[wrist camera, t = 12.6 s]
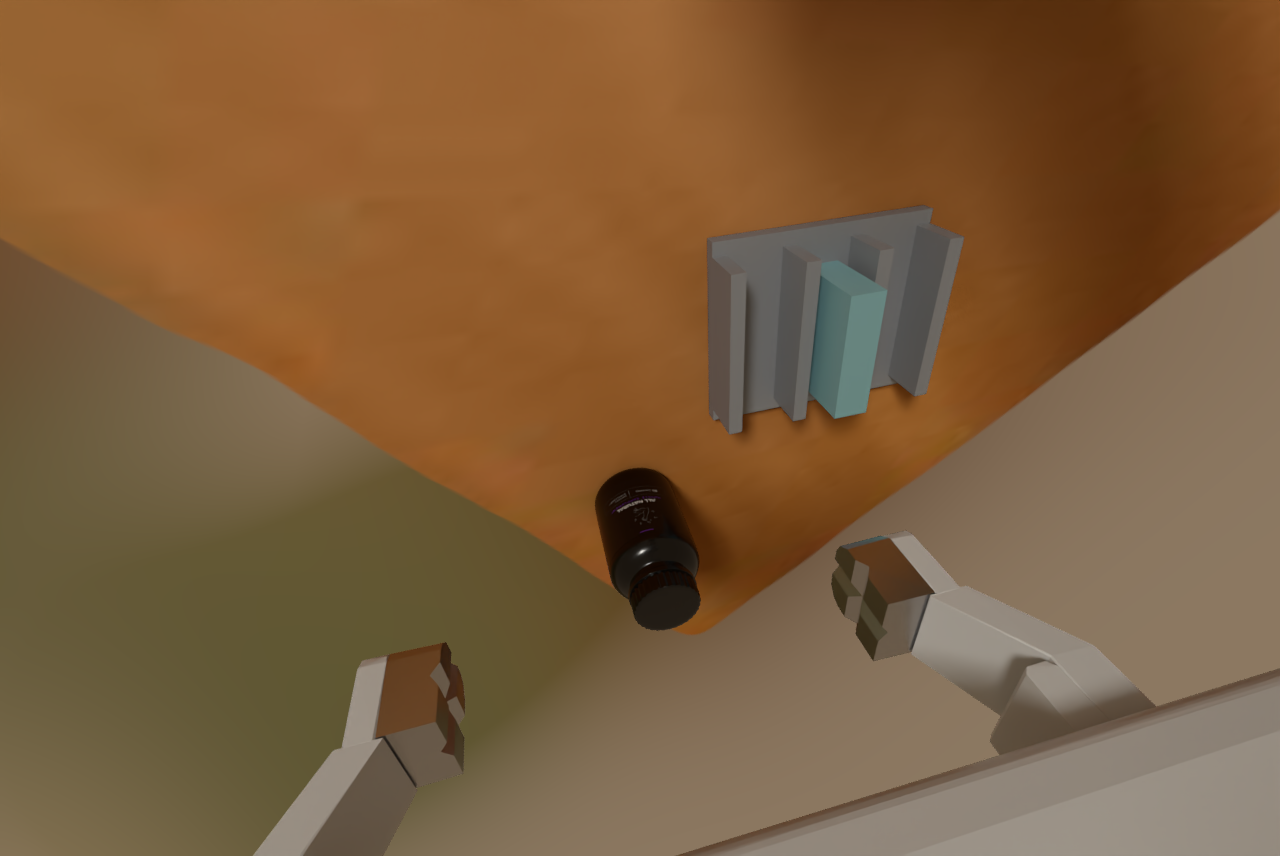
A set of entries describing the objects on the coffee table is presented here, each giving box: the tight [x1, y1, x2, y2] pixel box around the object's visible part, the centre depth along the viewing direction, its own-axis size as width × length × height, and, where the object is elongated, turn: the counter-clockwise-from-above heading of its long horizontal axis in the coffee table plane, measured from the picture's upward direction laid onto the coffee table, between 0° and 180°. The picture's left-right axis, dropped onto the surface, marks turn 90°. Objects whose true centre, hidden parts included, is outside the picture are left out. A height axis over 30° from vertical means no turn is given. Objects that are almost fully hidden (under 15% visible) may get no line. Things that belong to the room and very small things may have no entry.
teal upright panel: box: [808, 260, 887, 419], centre depth 40 cm, size 9×2×6 cm, turn 5°
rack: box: [707, 205, 964, 434], centre depth 41 cm, size 14×16×4 cm
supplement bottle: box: [595, 468, 701, 631], centre depth 44 cm, size 7×7×12 cm
